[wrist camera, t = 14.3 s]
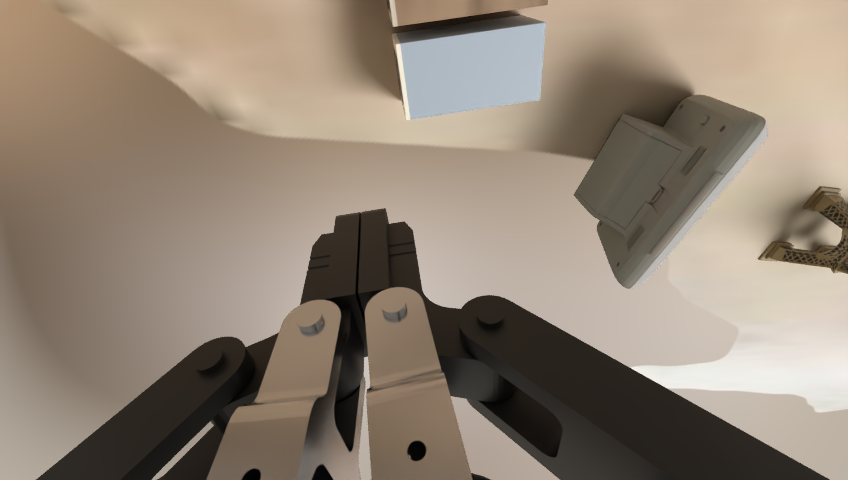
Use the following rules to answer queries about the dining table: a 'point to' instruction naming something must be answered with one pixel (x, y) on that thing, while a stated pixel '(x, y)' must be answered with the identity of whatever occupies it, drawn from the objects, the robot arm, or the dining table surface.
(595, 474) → the robot arm
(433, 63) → the slate-blue block
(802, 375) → the dining table surface
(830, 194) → the eiffel tower
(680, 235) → the digital clock
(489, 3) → the walnut block
